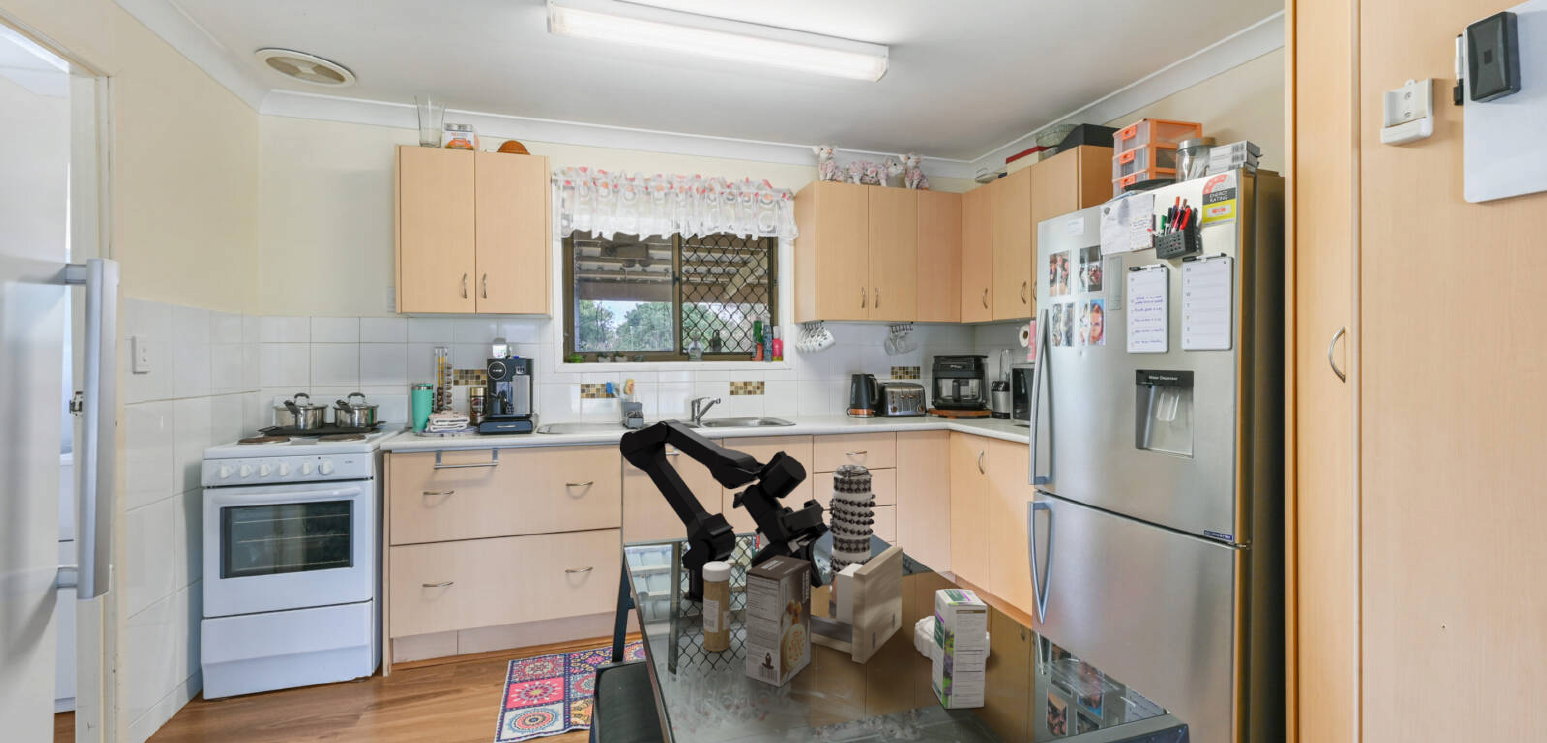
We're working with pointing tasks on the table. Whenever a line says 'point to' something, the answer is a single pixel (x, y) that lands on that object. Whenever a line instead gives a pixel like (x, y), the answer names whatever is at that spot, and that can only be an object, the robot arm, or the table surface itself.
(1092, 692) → the table surface
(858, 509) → the decorative candle
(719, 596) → the sprinkles bottle
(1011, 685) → the table surface
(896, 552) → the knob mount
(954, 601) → the syrup box
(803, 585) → the coffee box
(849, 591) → the push knob
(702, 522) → the robot arm
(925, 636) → the mooncake
